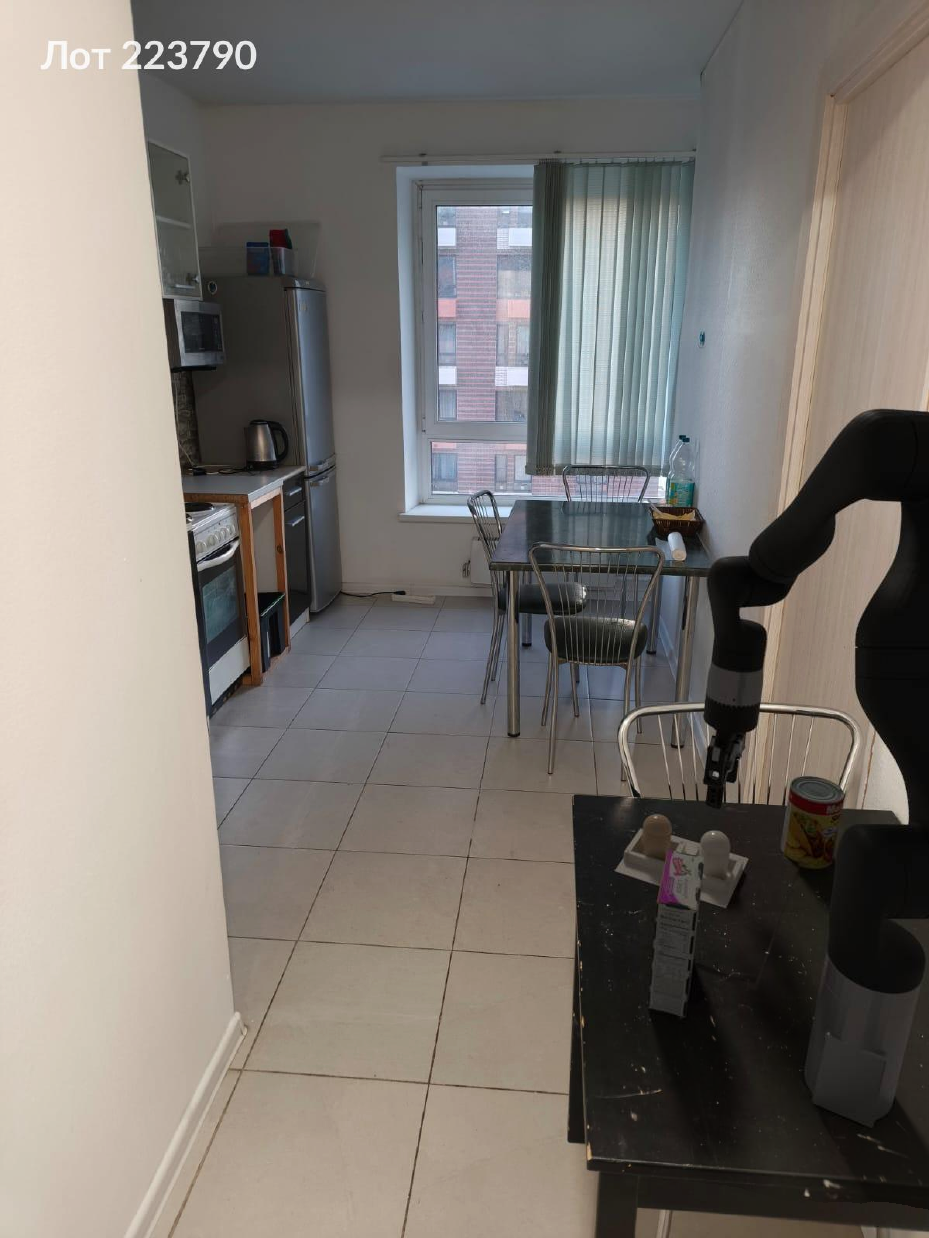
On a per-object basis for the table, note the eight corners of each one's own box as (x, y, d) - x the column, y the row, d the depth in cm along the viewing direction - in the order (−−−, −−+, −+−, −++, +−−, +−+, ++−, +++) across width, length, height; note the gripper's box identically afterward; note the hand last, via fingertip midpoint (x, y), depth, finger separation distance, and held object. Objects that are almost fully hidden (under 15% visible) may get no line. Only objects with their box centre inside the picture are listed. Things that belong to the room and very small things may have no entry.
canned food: (834, 873, 133) (846, 805, 129) (780, 863, 136) (791, 796, 132) (830, 844, 140) (842, 780, 136) (779, 836, 143) (789, 772, 139)
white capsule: (722, 885, 129) (727, 844, 127) (693, 876, 131) (698, 835, 129) (729, 870, 133) (735, 829, 130) (701, 861, 135) (706, 821, 132)
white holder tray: (725, 911, 124) (727, 898, 124) (614, 873, 132) (615, 861, 132) (748, 861, 136) (749, 849, 135) (644, 829, 144) (645, 818, 143)
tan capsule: (663, 867, 133) (667, 827, 131) (636, 858, 135) (640, 818, 133) (672, 852, 137) (676, 813, 134) (645, 844, 139) (649, 805, 136)
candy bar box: (655, 950, 117) (666, 847, 111) (693, 959, 115) (706, 855, 110) (644, 1009, 107) (655, 900, 101) (685, 1020, 105) (699, 909, 100)
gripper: (749, 717, 114) (735, 823, 119) (771, 681, 126) (757, 779, 131) (693, 705, 118) (681, 808, 123) (719, 671, 129) (708, 766, 135)
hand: (721, 793), depth 127 cm, fingers open, 8 cm apart
